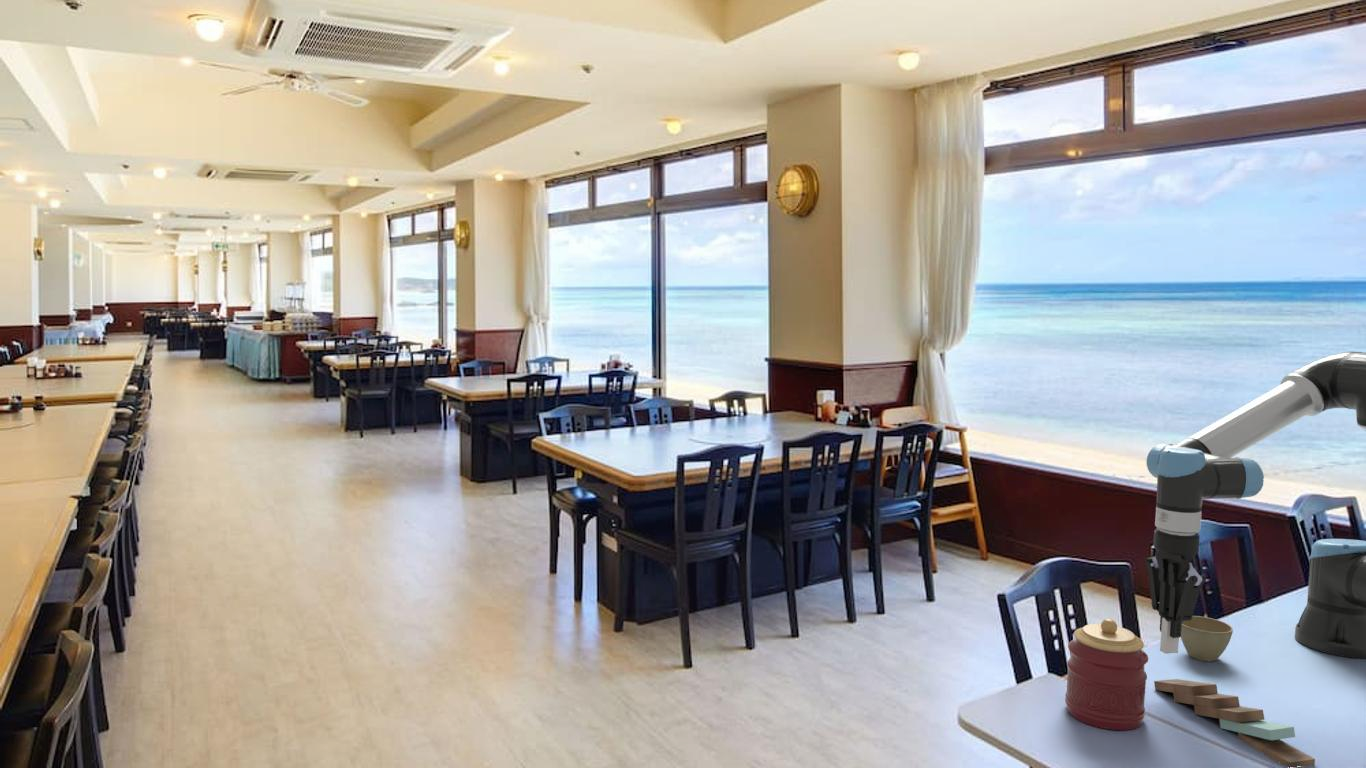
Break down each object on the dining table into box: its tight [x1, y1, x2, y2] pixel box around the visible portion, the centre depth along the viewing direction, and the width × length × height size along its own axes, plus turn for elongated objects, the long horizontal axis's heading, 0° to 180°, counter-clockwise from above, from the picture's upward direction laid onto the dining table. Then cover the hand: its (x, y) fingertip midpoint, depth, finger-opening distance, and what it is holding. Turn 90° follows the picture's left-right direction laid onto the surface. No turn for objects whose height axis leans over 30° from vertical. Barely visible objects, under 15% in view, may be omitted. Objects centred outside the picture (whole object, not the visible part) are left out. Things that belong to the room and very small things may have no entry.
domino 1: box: [1153, 678, 1219, 696], centre depth 169 cm, size 5×2×10 cm
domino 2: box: [1172, 692, 1241, 708], centre depth 164 cm, size 5×2×10 cm
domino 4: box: [1219, 719, 1296, 740], centre depth 154 cm, size 5×2×10 cm
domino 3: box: [1193, 705, 1266, 722], centre depth 159 cm, size 5×2×10 cm
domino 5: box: [1237, 732, 1316, 768], centre depth 150 cm, size 5×2×10 cm
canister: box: [1064, 618, 1149, 731], centre depth 162 cm, size 13×13×18 cm
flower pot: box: [1180, 615, 1234, 662], centre depth 189 cm, size 10×10×7 cm
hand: (1168, 651), depth 173 cm, fingers closed
